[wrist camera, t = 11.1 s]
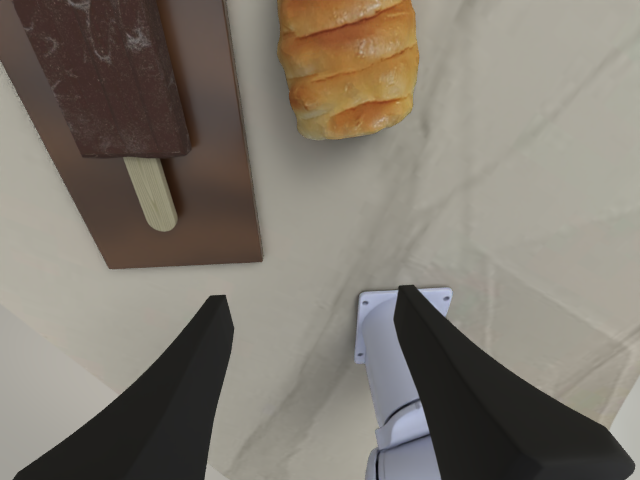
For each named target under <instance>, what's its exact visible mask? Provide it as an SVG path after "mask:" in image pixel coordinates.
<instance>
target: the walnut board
mask: <svg viewBox="0 0 640 480" xmlns="http://www.w3.org/2000/svg"><path fill="white" fill-rule="evenodd" d="M156 2H157V6H158V11H159V15H160V19H161V23H162V27H163V31H164V35H165V39H166V43H167V48H168V52H169V56H170V60H171V64H172V68H173V72H174V76H175V81H176V85H177V89H178V93H179V97H180V101H181V105H182V109H183V113H184V118H185V122H186V126H187V130H188V134H189V138H190V142H191V146H192V150H191V151H190V152H189V153H188V154H187V155H186V156H180V157H173V158H167V159H161V158H160V161H161V165H162V168H163V171H164V174H165V178H166V181H167V184H168V187H169V191H170V194H171V197H172V200H173V204H174V207H175V210H176V213H177V217H178V221H177V223H176V225H175V226H174V228H173V229H171V230H170V231H165V232H164V231H158V230H156V229H154V228H152V227H151V226H150V225H149V224H148V222H147V220H146V217H145V215H144V212H143V209H142V207H141V204H140V202H139V199H138V196H137V194H136V191H135V188H134V186H133V183H132V180H131V178H130V175H129V172H128V170H127V167H126V164H125V162H124V159H123V157H119V158H108V159H99V158H83V157H82V156H81V154H80V151H79V149H78V147H77V145H76V143H75V140H74V138H73V136H72V134H71V132H70V129H69V127H68V125H67V123H66V120H65V118H64V116H63V114H62V112H61V109H60V107H59V105H58V103H57V101H56V98H55V96H54V94H53V92H52V90H51V87H50V85H49V83H48V81H47V79H46V76H45V74H44V72H43V70H42V68H41V65H40V63H39V61H38V59H37V57H36V54H35V52H34V50H33V48H32V46H31V43H30V41H29V39H28V37H27V35H26V32H25V30H24V28H23V26H22V24H21V21H20V19H19V17H18V15H17V12H16V10H15V8H14V6H13V4H12V1H11V0H0V60H1V62H2V64H3V66H4V68H5V70H6V72H7V74H8V76H9V78H10V79H11V81H12V83H13V85H14V87H15V89H16V91H17V93H18V95H19V97H20V99H21V101H22V102H23V104H24V106H25V108H26V110H27V112H28V114H29V116H30V118H31V120H32V122H33V124H34V126H35V127H36V129H37V131H38V133H39V135H40V137H41V139H42V141H43V143H44V145H45V147H46V149H47V151H48V152H49V154H50V156H51V158H52V160H53V162H54V164H55V166H56V168H57V170H58V172H59V174H60V176H61V177H62V179H63V181H64V183H65V185H66V187H67V189H68V191H69V193H70V195H71V197H72V199H73V200H74V202H75V204H76V206H77V208H78V210H79V212H80V214H81V216H82V218H83V220H84V222H85V224H86V225H87V227H88V229H89V231H90V233H91V235H92V237H93V239H94V241H95V243H96V245H97V247H98V249H99V250H100V252H101V254H102V256H103V258H104V260H105V262H106V264H107V266H108V268H109V269H126V268H146V267H167V266H188V265H209V264H230V263H250V262H262V261H263V256H264V255H263V249H262V242H261V235H260V228H259V221H258V215H257V208H256V201H255V194H254V188H253V181H252V174H251V167H250V160H249V154H248V147H247V140H246V133H245V127H244V120H243V113H242V106H241V99H240V93H239V86H238V79H237V72H236V66H235V59H234V52H233V45H232V39H231V32H230V25H229V18H228V11H227V5H226V0H156Z"/></svg>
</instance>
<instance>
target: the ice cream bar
mask: <svg viewBox="0 0 640 480" xmlns="http://www.w3.org/2000/svg"><path fill="white" fill-rule="evenodd" d="M11 1H12V4H13V6H14V8H15V10H16V12H17V15H18V17H19V19H20V21H21V24H22V26H23V28H24V30H25V32H26V35H27V37H28V39H29V41H30V43H31V46H32V48H33V50H34V52H35V54H36V57H37V59H38V61H39V63H40V65H41V68H42V70H43V72H44V74H45V76H46V79H47V81H48V83H49V85H50V87H51V90H52V92H53V94H54V96H55V98H56V101H57V103H58V105H59V107H60V109H61V112H62V114H63V116H64V118H65V120H66V123H67V125H68V127H69V129H70V132H71V134H72V136H73V138H74V140H75V143H76V145H77V147H78V149H79V151H80V154H81V156H82V157H83V158H99V159H108V158H119V157H123V159H124V162H125V164H126V167H127V170H128V172H129V175H130V178H131V180H132V183H133V186H134V188H135V191H136V194H137V196H138V199H139V202H140V204H141V207H142V209H143V212H144V215H145V217H146V220H147V222H148V224H149V225H150V226H151V227H152V228H154V229H156V230H158V231H164V232H165V231H170V230H171V229H173V228H174V226H175V225H176V223H177V221H178V217H177V213H176V210H175V207H174V204H173V200H172V197H171V194H170V191H169V187H168V184H167V181H166V178H165V174H164V171H163V168H162V165H161V161H160V158H161V159H167V158H173V157H180V156H186V155H187V154H188V153H189V152H190V151H191V150H192V146H191V142H190V138H189V134H188V130H187V126H186V122H185V118H184V113H183V109H182V105H181V101H180V97H179V93H178V89H177V85H176V81H175V76H174V72H173V68H172V64H171V60H170V56H169V52H168V48H167V43H166V39H165V35H164V31H163V27H162V23H161V19H160V15H159V11H158V6H157V2H156V0H11Z"/></svg>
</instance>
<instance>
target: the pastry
mask: <svg viewBox="0 0 640 480" xmlns="http://www.w3.org/2000/svg"><path fill="white" fill-rule="evenodd" d="M277 5H278V17H279V22H280V38H279V42H278V47H277V55H278V58H279V61H280V63H281V65H282V66H283V68H284V71H285V75H286V80H287V84H288V88H289V91H290V92H289V100H290V104H291V107H292V109H293V111H294V112H295V115H296V118H297V129H298V131H299V133H300V134H301V135H302V136H304V137H305V138H308V139H313V140H325V139H333V140H339V139H343V138H352V137H358V136H363V135H370V134H374V133H376V132H378V131H380V130H382V129H383V128H389V127H392V126H394V125H396V124H397V123H399V122H401V121H402V120H403V119H404V118H405V117H406V116H407V115H408V114H409V113H410V112H411V110H412V107H413V91H414V87H415V85H416V80H417V71H418V64H419V52H418V46H417V39H416V21H415V12H414V10H413V8H412V4H411V0H277Z"/></svg>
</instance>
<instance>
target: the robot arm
mask: <svg viewBox="0 0 640 480" xmlns="http://www.w3.org/2000/svg"><path fill="white" fill-rule="evenodd" d="M452 296H453V291H452V290H451V288H449V287H444V288H426V289H417V288H416V287H415V286H414V285H402V286H399V289H398V290H388V291H369V292H362V293H361V294H360V295H359V303H358V315H357V328H356V340H355V353H354V361H355V363H357V364H363V363H365V366H366V371H367V376H368V380H369V385H370V390H371V395H372V399H373V404H374V409H375V414H376V418H377V421H378V424H379V427H380V428H378V429H376V430H375V434H376V439H377V444H378V447H376V448H375V449H373V450H372V451H371V453H370V455H369V458H368V463H367V468H366V474H365V480H625V479H627V478H628V477H629V476H630V475H631V474H632V473H633V472H634V470H635V463H634V461H633V460H632V459H631V458H630V456H629V455H628V454H627V453H626V451H625V450H624V449H623V448H622V446H621V445H620V444H619V443H618V441H617V440H616V439H615V438H614V437H613V436H612V434H611V433H610V432H609V431H608V430H607V428H606V427H604V426H603V425H601V424H599V423H597V422H595V421H593V420H591V419H590V418H588V417H586V416H584V415H582V414H580V413H578V412H576V411H575V410H573V409H571V408H569V407H567V406H565V405H564V404H562V403H560V402H559V401H557V400H555V399H554V398H552V397H550V396H548V395H547V394H545V393H543V392H542V391H540V390H539V389H537V388H535V387H534V386H532V385H531V384H529V383H527V382H526V381H524V380H523V379H522V378H520V377H519V376H517V375H516V374H514V373H513V372H511V371H510V370H508V369H507V368H505V367H504V366H503V365H501V364H500V363H498V362H497V361H496V360H494V359H493V358H492V357H491V356H489V355H488V354H487V353H485V352H484V351H483V350H481V349H480V348H479V347H478V346H476V345H475V344H474V343H473V342H472V341H471V340H469V339H468V338H467V337H466V336H465V335H464V334H462V333H461V332H460V331H459V330H458V329H457V328H456V327H455V326H454V325H453V324H452V323H451V322H450V321H449V320H447V319H446V314H447V311H448V308H449V305H450V302H451V299H452ZM444 297H445V298H444ZM364 301H366V302H364ZM233 334H234V326H233V322H232V318H231V314H230V310H229V306H228V303H227V299H226V295H212V296H210V297H209V298H208V299H207V300H206V301H205V303H204V304H203V305H202V307H201V308H200V309H199V311H198V312H197V313H196V314H195V316H194V317H193V318H192V320H191V321H190V322H189V323H188V325H187V326H186V327H185V328H184V329H183V331H182V332H181V333H180V334H179V335H178V337H177V338H176V339H175V340H174V341H173V343H172V344H171V345H170V346H169V347H168V348H167V349H166V350H165V351H164V353H163V354H162V355H161V356H160V357H159V358H158V359H157V360H156V361H155V362H154V363H153V364H152V365H151V366H150V367H149V368H148V369H147V370H146V371H145V372H144V373H143V374H142V375H141V376H140V377H139V378H138V379H137V380H136V381H135V382H134V383H133V384H132V385H131V386H130V387H129V388H128V389H126V390H125V391H124V392H123V393H122V394H121V395H120V396H119V397H118V398H116V399H115V400H114V401H113V402H112V403H110V404H109V405H108V406H107V407H106V408H105V409H104V410H102V411H101V412H100V413H99V414H97V415H96V416H95V417H94V418H92V419H91V420H90V421H88V422H87V423H86V424H85V425H83V426H82V427H81V428H79V429H78V430H77V431H76V432H74V433H73V434H72V435H70V436H69V437H68V438H66V439H65V440H64V441H62V442H61V443H59V444H58V445H57V446H55V447H54V448H52V449H51V450H50V451H48V452H47V453H45V454H44V455H42V456H41V457H40V458H38V459H37V460H35V461H34V462H32V463H31V464H30V465H28V466H27V467H25V468H24V469H22V470H21V471H19V472H18V473H17V474H16V476H15V477H14V479H13V480H204V478H205V471H206V465H207V458H208V452H209V445H210V439H211V433H212V427H213V421H214V416H215V412H216V408H217V404H218V400H219V396H220V392H221V389H222V385H223V381H224V377H225V374H226V370H227V366H228V362H229V358H230V354H231V349H232V342H233Z"/></svg>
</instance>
